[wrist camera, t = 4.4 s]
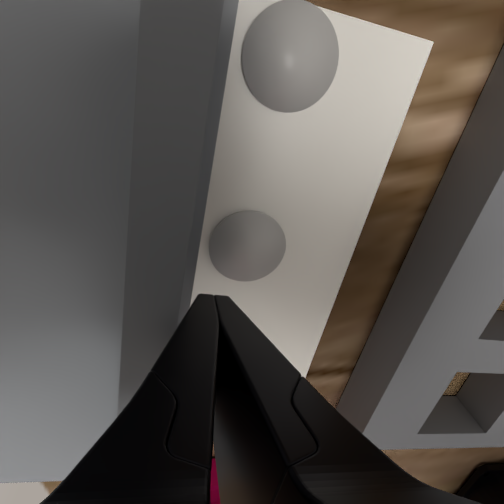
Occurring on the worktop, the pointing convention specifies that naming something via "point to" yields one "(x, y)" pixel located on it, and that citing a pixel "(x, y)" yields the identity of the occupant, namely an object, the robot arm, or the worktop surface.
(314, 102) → the plate
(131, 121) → the cover
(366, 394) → the hole board
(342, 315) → the worktop surface
